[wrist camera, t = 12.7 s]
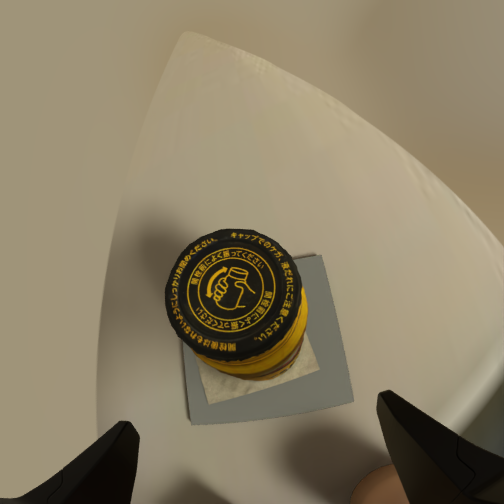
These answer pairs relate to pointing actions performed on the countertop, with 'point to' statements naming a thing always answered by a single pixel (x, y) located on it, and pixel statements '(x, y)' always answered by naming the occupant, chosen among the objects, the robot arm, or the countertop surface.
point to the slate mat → (294, 391)
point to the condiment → (240, 312)
